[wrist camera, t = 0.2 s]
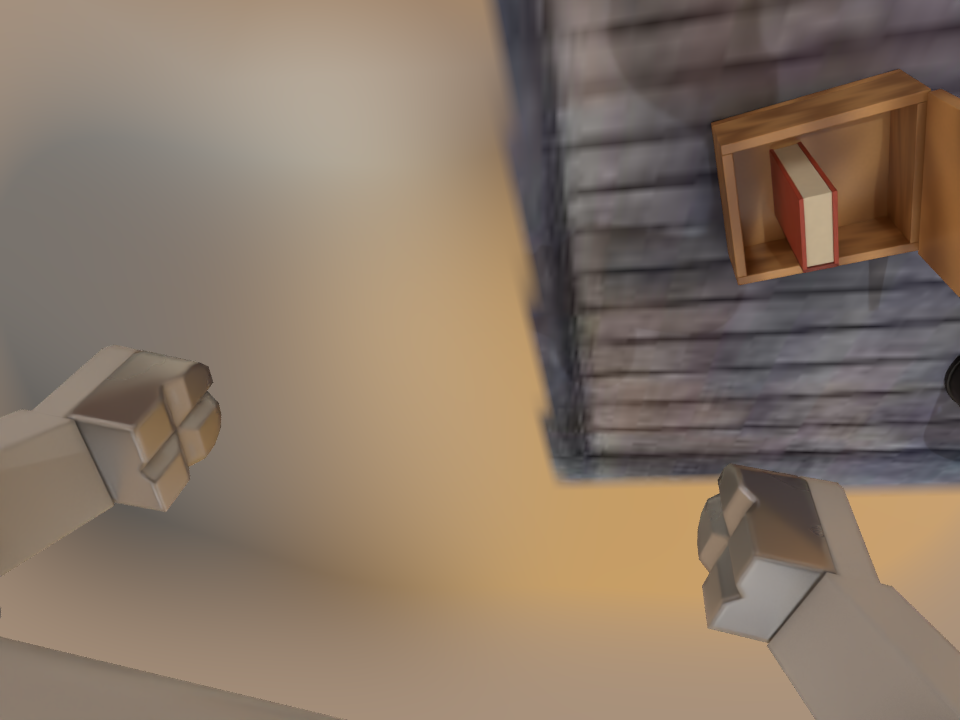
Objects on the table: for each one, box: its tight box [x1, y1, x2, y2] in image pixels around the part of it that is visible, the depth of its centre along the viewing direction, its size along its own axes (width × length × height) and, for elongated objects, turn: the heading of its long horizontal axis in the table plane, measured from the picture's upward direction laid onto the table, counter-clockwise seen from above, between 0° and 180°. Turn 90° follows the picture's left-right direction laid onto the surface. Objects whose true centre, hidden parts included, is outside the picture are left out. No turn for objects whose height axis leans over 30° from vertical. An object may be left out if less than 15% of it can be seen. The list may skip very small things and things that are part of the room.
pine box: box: [711, 69, 931, 285], centre depth 49 cm, size 14×13×6 cm
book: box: [769, 142, 839, 273], centre depth 47 cm, size 2×6×10 cm, turn 20°
